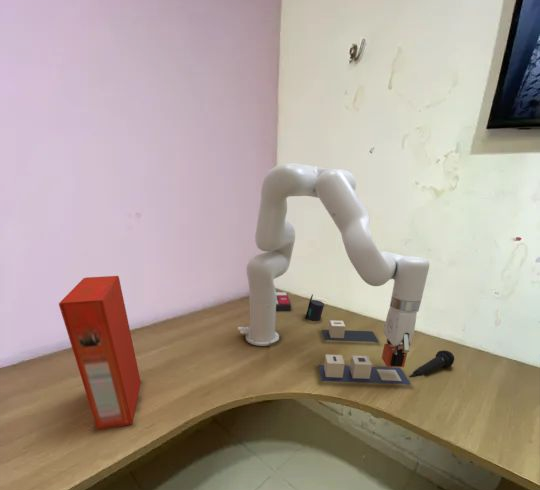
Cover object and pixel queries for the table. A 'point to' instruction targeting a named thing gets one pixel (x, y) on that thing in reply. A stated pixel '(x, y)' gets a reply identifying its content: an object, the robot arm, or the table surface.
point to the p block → (360, 367)
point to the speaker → (314, 310)
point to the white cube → (334, 366)
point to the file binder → (103, 349)
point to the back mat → (352, 336)
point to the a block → (336, 329)
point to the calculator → (282, 302)
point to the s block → (390, 355)
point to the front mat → (376, 376)
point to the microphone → (435, 363)
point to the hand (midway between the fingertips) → (392, 359)
